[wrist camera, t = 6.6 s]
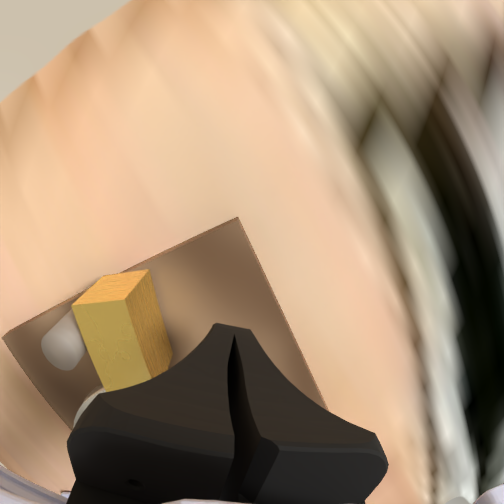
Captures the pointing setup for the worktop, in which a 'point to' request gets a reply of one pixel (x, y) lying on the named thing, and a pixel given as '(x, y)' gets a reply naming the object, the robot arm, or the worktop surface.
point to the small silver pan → (122, 331)
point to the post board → (169, 318)
